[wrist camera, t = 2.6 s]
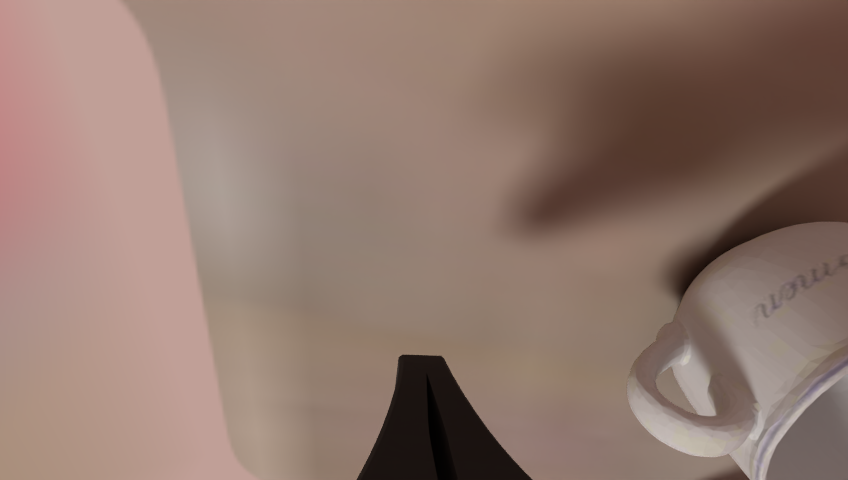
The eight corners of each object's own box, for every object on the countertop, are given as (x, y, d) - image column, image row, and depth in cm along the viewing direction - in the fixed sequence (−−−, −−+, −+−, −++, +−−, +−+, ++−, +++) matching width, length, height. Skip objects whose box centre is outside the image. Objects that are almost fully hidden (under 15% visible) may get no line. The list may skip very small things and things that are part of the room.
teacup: (898, 212, 20) (1201, 312, 12) (781, 390, 24) (952, 540, 17) (621, 173, 18) (787, 265, 10) (549, 375, 22) (630, 538, 15)
